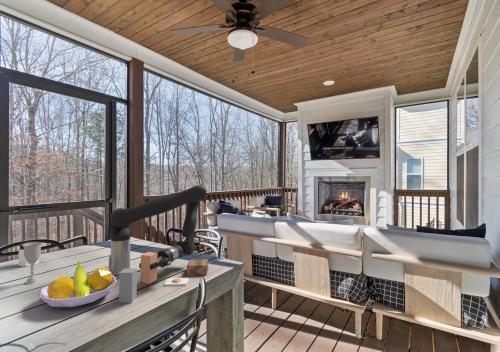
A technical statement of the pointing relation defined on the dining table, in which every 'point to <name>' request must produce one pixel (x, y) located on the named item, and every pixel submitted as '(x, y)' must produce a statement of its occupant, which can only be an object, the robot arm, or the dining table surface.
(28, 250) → the chalice
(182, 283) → the card
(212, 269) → the dining table surface
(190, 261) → the walnut plinth
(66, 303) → the fruit bowl
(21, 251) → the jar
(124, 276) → the grey block
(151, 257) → the terracotta block
